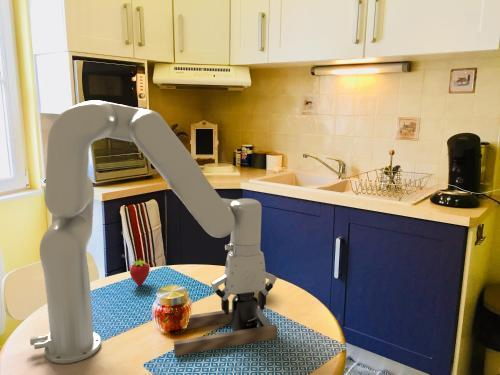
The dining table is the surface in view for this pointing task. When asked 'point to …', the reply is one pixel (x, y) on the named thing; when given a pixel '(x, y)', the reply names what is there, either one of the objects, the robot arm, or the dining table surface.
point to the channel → (224, 339)
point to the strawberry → (139, 272)
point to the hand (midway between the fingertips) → (243, 309)
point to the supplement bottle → (244, 311)
